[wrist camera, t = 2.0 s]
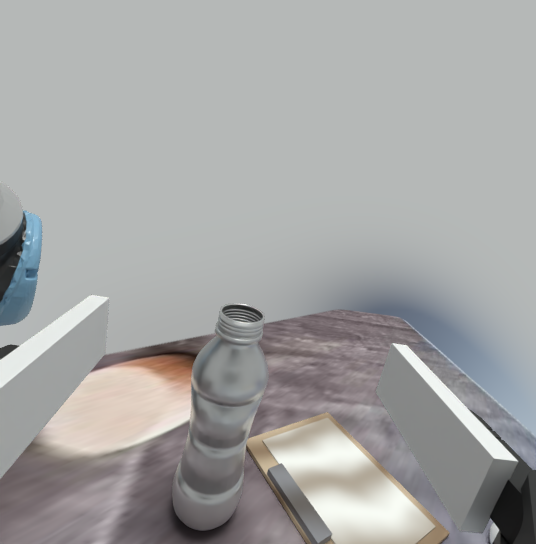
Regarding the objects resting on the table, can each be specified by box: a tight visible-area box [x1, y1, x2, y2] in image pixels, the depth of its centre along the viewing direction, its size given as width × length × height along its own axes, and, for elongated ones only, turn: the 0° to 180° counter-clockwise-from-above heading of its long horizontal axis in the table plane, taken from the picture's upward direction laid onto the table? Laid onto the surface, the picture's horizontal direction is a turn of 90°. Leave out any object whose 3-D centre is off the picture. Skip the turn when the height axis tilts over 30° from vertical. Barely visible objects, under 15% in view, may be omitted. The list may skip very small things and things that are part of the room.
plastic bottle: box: [172, 303, 269, 531], centre depth 28 cm, size 6×7×20 cm
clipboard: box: [246, 412, 449, 544], centre depth 35 cm, size 18×14×1 cm
